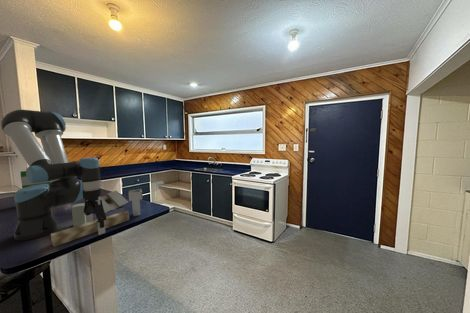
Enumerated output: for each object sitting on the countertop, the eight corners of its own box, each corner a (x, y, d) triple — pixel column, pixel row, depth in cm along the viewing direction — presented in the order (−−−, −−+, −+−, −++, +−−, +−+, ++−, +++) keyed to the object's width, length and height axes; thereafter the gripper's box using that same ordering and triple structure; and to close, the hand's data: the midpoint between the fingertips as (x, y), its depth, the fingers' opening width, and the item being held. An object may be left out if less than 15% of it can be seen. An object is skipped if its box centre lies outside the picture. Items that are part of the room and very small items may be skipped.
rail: (54, 247, 83) (52, 236, 82) (51, 244, 85) (50, 234, 84) (129, 220, 109) (128, 211, 109) (126, 219, 111) (125, 210, 111)
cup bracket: (130, 217, 112) (128, 193, 110) (130, 213, 118) (128, 190, 117) (143, 215, 115) (142, 191, 114) (142, 211, 122) (141, 188, 120)
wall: (127, 208, 138) (116, 193, 142) (129, 201, 133) (118, 186, 137) (102, 220, 124) (90, 203, 128) (103, 213, 120) (91, 195, 124)
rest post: (73, 227, 100) (71, 207, 99) (75, 224, 105) (73, 204, 104) (85, 225, 103) (83, 205, 102) (87, 222, 107) (85, 202, 106)
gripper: (112, 190, 91) (115, 233, 93) (90, 184, 105) (94, 221, 107) (93, 194, 85) (98, 240, 87) (73, 187, 99) (77, 227, 101)
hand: (95, 230), depth 97 cm, fingers open, 13 cm apart
